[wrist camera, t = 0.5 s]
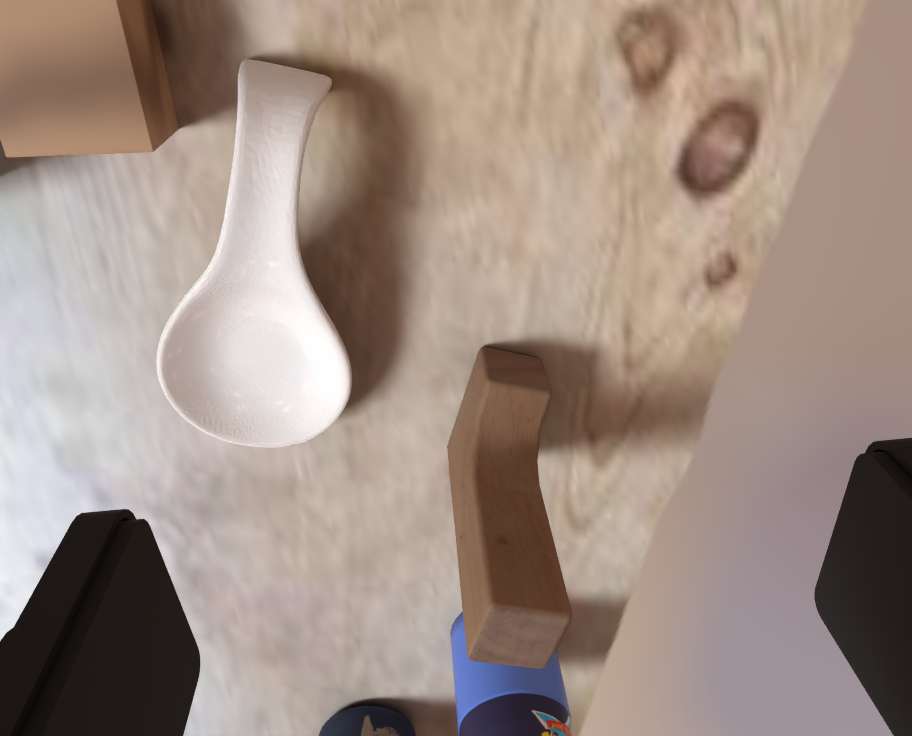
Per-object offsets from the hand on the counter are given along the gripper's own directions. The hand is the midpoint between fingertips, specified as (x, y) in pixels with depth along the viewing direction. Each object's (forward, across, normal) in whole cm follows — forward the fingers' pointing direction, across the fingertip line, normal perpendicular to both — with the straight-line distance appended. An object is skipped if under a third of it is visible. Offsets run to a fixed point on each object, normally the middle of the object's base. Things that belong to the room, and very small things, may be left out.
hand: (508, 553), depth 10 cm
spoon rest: (+34, +10, +10) cm, 37 cm away
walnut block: (+34, +17, -2) cm, 38 cm away
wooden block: (+34, -3, +21) cm, 40 cm away
